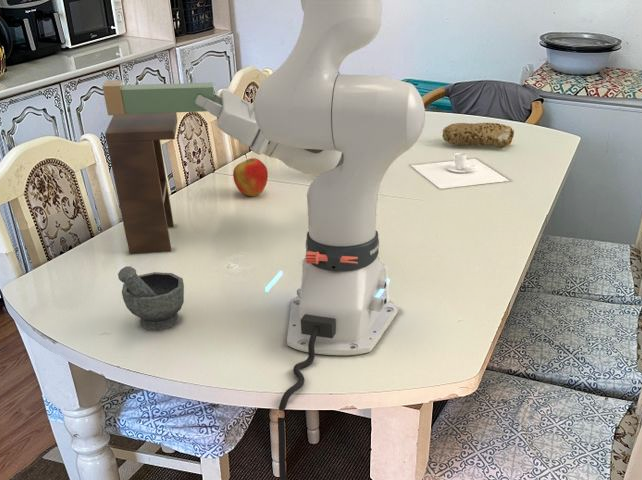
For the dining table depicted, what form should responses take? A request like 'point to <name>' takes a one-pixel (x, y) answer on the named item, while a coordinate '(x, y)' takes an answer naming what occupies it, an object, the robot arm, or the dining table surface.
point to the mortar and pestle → (153, 297)
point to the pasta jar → (154, 97)
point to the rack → (142, 178)
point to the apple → (250, 177)
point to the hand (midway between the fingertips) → (196, 94)
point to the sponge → (478, 134)
